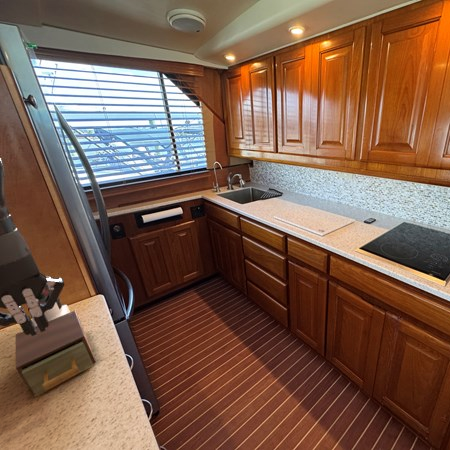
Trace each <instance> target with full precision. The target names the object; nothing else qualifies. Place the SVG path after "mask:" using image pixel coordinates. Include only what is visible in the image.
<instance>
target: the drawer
mask: <svg viewBox="0 0 450 450" xmlns="http://www.w3.org/2000/svg"><path fill="white" fill-rule="evenodd" d="M93 366H94V364H93V363H92V361H91V358H90V356H89V354H88V352H87V350H86V348H85V345H84V343H83V341H81V340H80V341H78V342H76V343H74V344H71V345H69V346H67V347H65V348H63V349H61V350H59V351H57V352H55V353H52V354H50V355H48V356H46V357H44V358H42V359H40V360H38V361H36V362H33V363H31V364H29V365H27V368H26V369H24V370H22V375H23V376H24V378H25V379H26V381H27V383H28V384H29V386H30V388H31V389H32V391H33V392H34V394H35V397H38V396H40V395H42V394H44V393H45V392H47V391H49V390H51V389H52V388H55V387H57V386H58V385H60V384H62V383H64V382H67V381H68V380H69V379H71V378H73V377H75V376H76V375H78V374H80V373H82V372H84V371H86V370H87V369H90V368H92V367H93Z"/></svg>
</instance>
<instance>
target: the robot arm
mask: <svg viewBox="0 0 450 450" xmlns="http://www.w3.org/2000/svg"><path fill="white" fill-rule="evenodd" d="M5 190H6V189H5V168H4V164H3V161H2V158H0V309H5V310H7V311H8V312H9V313H6V312H2V311H0V326H1V327H8V326H10V325H12V324H18V325H19V326H20V329H21V330H22V332H23V331H24V333H25V334H26V335H29V334H31V335H32V336H34V335H36V334H37V330H36V327H35V326H34V324H33V322H32V320H33V319H32V317H31V315H27V312H26V311H25V309H24V308H23V305H26V304H27V303H28V306H29V307H28V306H27V307H28V308H30V309H31V311H32V313H33V315H34V320H35V322H36V324H37V326H38V327H39V329H40V331H41V332H43V331H46V327H48V325H49V323H48V320H47V318H46V316H45V314H44V313H45V312H46V311H47V310H50V309H52V308H53V307H54V305H55V303H56V301H57V299H58V297H59V298H60V294H61V292H62V291H63V288H64V287H65V282H64V279H63V278H62V277H57V278H51V279H47V277H46V276H47V275H45V274H43V273H41V271H40V269H39V267H38V265H37V263H36V261H35V258H34V257H33V254H32V253H31V250H30V247H29V246H28V244H27V242H26V240H25V238H24V237H23V235H22V233H20V231H19V229H18V228H17V226H16V224H15V221H14V219H13V218H12V215H11V213H10V211H9V209H8V205H7V199H6V191H5ZM45 285H48V289H49V290H50V292H49V294H48V296H47V297H46V299H45V301H44V303H42V304H41V305H40V303H39V301H38V298H39V296H40V295H41V293H42V291H43V289H44V287H45Z"/></svg>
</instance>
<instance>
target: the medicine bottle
mask: <svg viewBox="0 0 450 450" xmlns="http://www.w3.org/2000/svg"><path fill="white" fill-rule="evenodd" d="M45 299H46V298H43V299H40V300H38V301H39V303H40V305H41V304H42V303H44V301H45ZM59 299H60V297H59V298H58V299H57V301H56V303H55V305H54V307H53V308H52V309H50V310H47V311H46V312H45V313H44V314H45V316H46V318H47V320H48V321H50V320H53V319H55V318H58V317H60V316H63V315H65V314H68V313H70V312H71V311H70V308H69V306H68V305H67V304H63V305H62V303H61V300H60V301H59ZM27 311H28V314H29V316H30V318H31V320H32V322H33V324H34V326H37V324H36V322H35V320H34V315H33V313H32V311H31V309H30V308H29V307H27Z"/></svg>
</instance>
